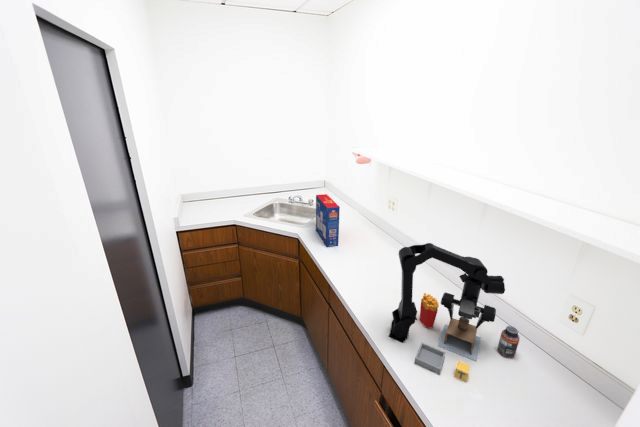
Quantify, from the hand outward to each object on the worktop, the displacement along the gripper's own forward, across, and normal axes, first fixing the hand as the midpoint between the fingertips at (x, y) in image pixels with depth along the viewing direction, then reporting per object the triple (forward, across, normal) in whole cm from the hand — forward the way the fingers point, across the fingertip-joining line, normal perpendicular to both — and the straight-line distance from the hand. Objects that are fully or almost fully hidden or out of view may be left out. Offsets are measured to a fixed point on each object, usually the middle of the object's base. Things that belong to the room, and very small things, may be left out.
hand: (463, 323), depth 117 cm
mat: (+8, 0, -1) cm, 9 cm away
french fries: (+9, -14, +3) cm, 17 cm away
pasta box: (+9, -95, +52) cm, 109 cm away
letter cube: (+9, +3, -18) cm, 20 cm away
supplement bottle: (+9, +16, +3) cm, 18 cm away
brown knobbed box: (+8, 0, -1) cm, 8 cm away
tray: (+8, -8, -17) cm, 21 cm away
